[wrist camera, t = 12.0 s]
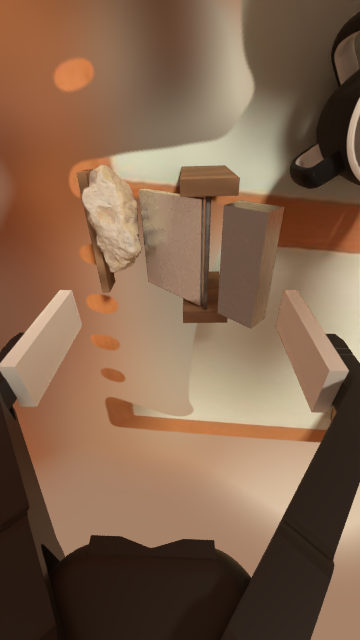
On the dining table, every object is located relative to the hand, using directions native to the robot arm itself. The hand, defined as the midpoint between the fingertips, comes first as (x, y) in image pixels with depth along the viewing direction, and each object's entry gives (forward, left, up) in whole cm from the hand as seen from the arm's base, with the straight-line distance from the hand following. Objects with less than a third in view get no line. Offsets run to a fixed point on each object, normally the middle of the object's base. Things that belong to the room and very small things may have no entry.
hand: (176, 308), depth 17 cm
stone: (0, -6, -25) cm, 26 cm away
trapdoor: (+3, +3, -20) cm, 20 cm away
